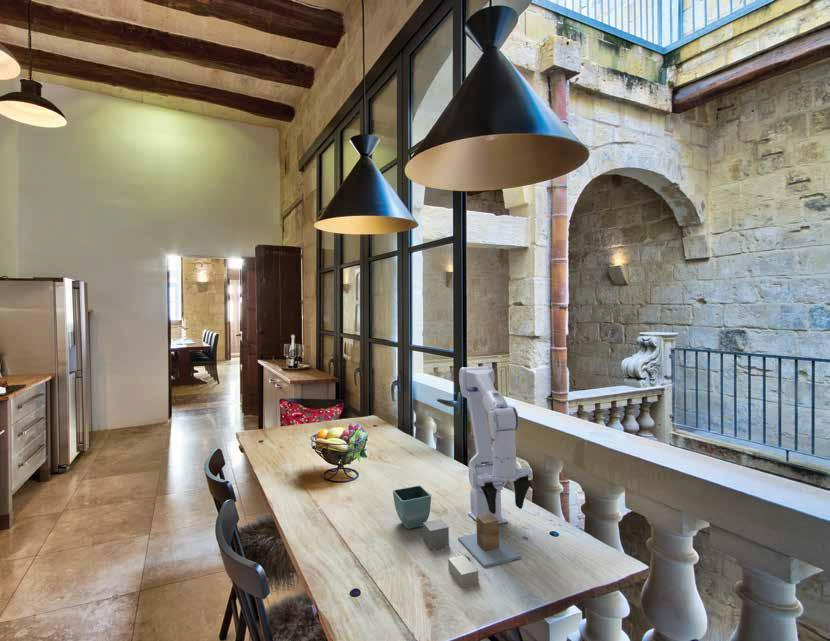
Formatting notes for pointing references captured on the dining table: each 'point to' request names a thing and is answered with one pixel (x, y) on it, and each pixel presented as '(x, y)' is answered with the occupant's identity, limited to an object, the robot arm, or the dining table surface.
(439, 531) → the grey cube
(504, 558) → the slate mat
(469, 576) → the pale grey block
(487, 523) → the tall walnut block
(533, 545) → the dining table surface
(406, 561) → the dining table surface
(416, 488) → the flower pot
